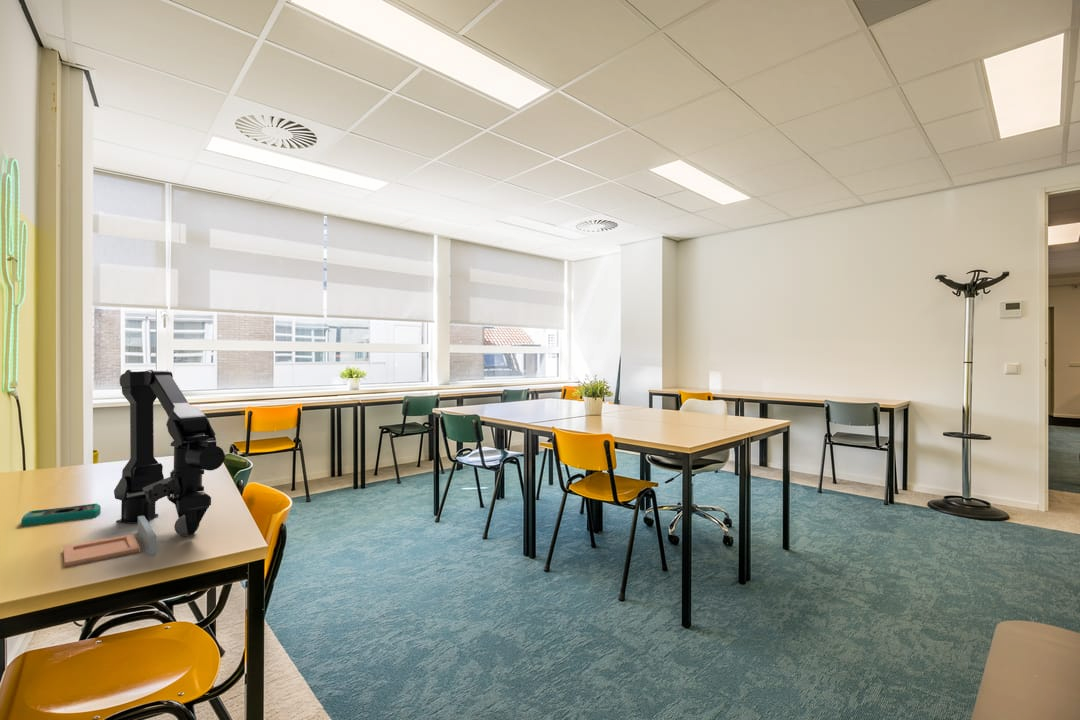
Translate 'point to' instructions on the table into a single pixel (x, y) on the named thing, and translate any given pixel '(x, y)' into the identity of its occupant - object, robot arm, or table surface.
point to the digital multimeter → (60, 514)
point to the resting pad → (100, 550)
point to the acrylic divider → (147, 535)
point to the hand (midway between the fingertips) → (187, 530)
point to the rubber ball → (182, 526)
